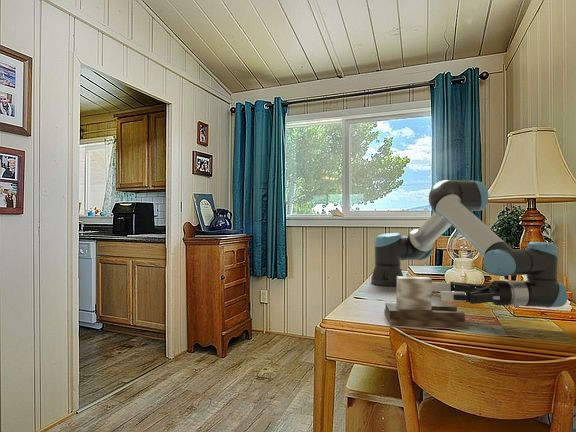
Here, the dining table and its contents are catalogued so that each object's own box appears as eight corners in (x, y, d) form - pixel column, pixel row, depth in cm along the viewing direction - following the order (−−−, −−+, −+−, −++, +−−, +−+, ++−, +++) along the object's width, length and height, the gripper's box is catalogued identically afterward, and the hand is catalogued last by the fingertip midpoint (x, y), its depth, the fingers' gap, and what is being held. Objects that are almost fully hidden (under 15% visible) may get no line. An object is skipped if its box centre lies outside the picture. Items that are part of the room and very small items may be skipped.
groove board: (452, 314, 123) (452, 303, 123) (467, 328, 109) (467, 315, 109) (384, 312, 126) (384, 301, 126) (390, 325, 112) (390, 312, 112)
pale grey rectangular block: (428, 314, 119) (428, 277, 119) (431, 317, 116) (431, 279, 115) (396, 313, 120) (396, 276, 120) (398, 316, 117) (398, 278, 117)
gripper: (528, 317, 102) (446, 314, 105) (490, 296, 127) (425, 294, 129) (528, 289, 102) (447, 287, 104) (490, 274, 126) (425, 272, 129)
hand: (435, 291), depth 117 cm, fingers open, 13 cm apart
